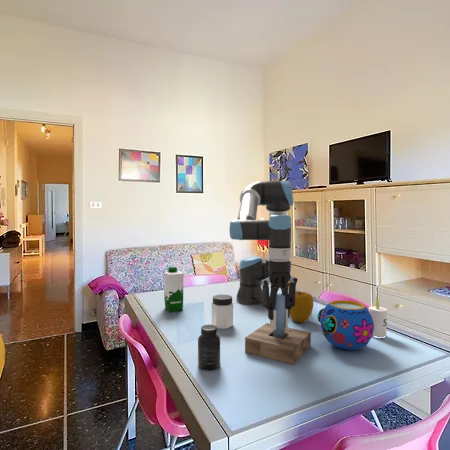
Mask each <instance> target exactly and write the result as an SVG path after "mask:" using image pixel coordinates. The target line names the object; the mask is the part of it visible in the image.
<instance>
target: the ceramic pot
mask: <svg viewBox="0 0 450 450" xmlns="http://www.w3.org/2000/svg"><path fill="white" fill-rule="evenodd" d="M317 320H318V322H319V324H320V327H321V332H322V335H324V337H325V339H326V340H327V342H329V343H330V344H331V345H333V346H335V347H337V348H339V349H342V350H348V351H351V350H359V349H362V348H365V347H366V346H367V345H368V344H369V342H370V341H371V339H372V336H373V332H374V323H373V319H372V316H371V314H370V312H369V308H368V307H366V306H365V305H364V304H362V303H360V302H356V301H353V300H352V301H351V300H346V299H344V300H342V299H341V300H340V299H339V300H334V301H333V300H332V301H330V302H329V303H328V304H326V305H325V307H324V308H321V309H320V310H319V311H318V313H317Z"/></svg>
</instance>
